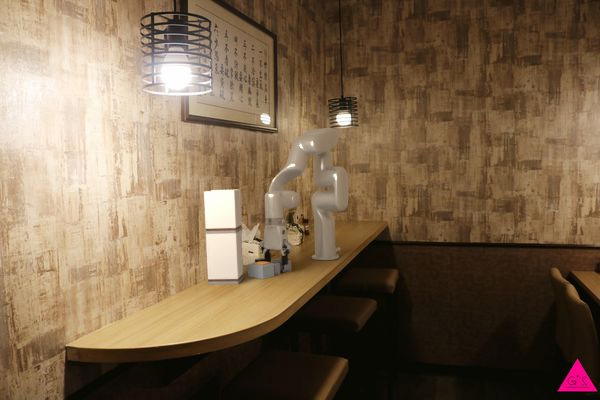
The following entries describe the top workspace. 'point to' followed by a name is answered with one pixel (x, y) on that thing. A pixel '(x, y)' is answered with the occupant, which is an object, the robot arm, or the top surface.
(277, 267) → the clip
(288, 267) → the clip
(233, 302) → the top surface
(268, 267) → the end holder
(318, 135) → the robot arm
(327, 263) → the top surface
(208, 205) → the white banded pillar
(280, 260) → the orange and grey bar
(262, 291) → the top surface
